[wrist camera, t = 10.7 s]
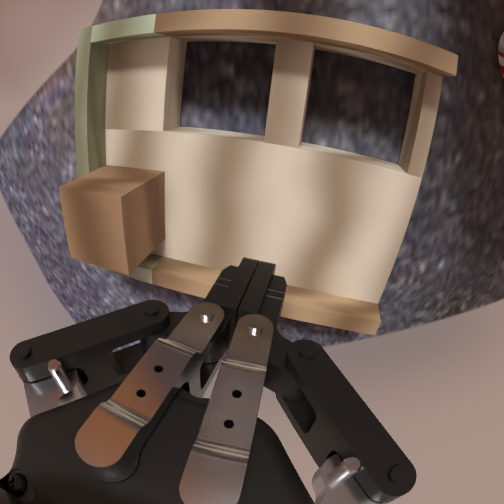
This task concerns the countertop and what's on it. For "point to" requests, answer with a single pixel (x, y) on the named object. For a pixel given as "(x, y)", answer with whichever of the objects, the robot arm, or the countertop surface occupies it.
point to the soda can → (501, 53)
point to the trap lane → (258, 158)
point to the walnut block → (114, 216)
